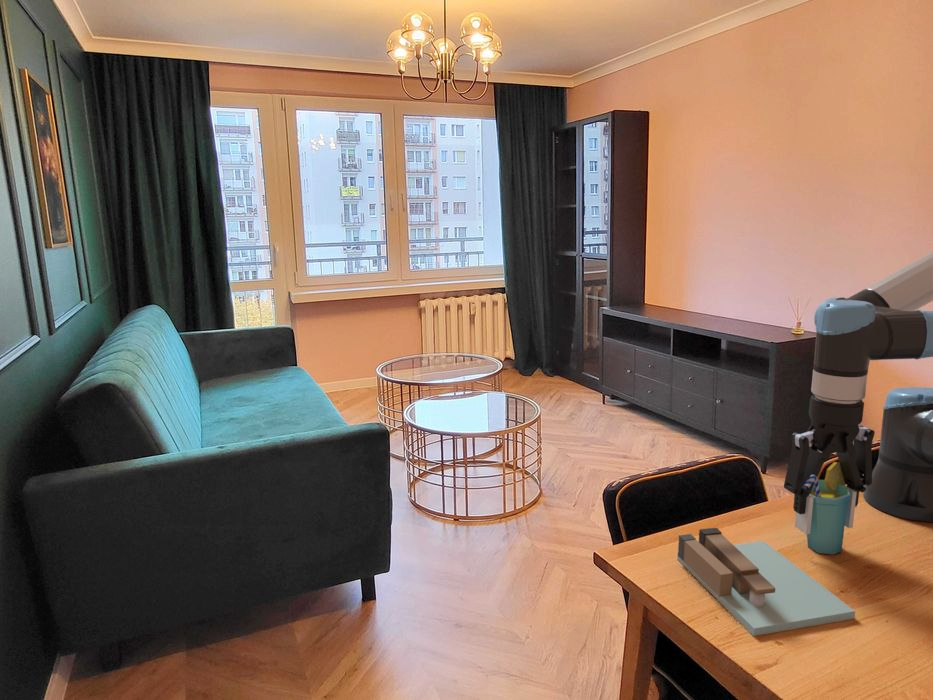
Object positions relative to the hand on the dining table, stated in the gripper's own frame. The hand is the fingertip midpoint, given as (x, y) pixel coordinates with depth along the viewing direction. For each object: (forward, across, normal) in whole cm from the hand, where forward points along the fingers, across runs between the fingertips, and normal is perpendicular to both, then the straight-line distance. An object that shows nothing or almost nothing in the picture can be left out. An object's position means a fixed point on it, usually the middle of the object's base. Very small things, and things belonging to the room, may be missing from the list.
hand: (823, 526), depth 106 cm
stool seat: (+4, +17, +7) cm, 19 cm away
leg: (+3, +21, +6) cm, 22 cm away
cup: (+4, 0, 0) cm, 4 cm away
